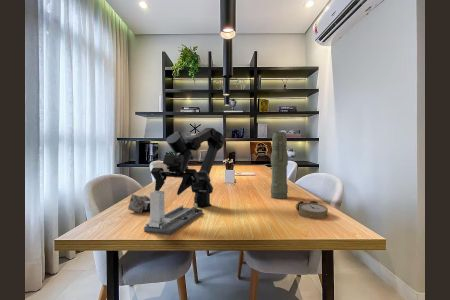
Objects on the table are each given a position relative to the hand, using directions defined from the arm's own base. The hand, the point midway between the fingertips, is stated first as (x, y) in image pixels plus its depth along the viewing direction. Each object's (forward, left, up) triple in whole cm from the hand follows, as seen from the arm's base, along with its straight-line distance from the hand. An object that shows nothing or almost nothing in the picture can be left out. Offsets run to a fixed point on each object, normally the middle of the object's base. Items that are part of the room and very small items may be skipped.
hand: (166, 193), depth 88 cm
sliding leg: (+4, +5, -9) cm, 11 cm away
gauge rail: (-4, -1, -11) cm, 12 cm away
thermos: (-66, -5, -11) cm, 67 cm away
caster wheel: (0, -23, -12) cm, 26 cm away
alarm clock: (-54, +23, -12) cm, 60 cm away
